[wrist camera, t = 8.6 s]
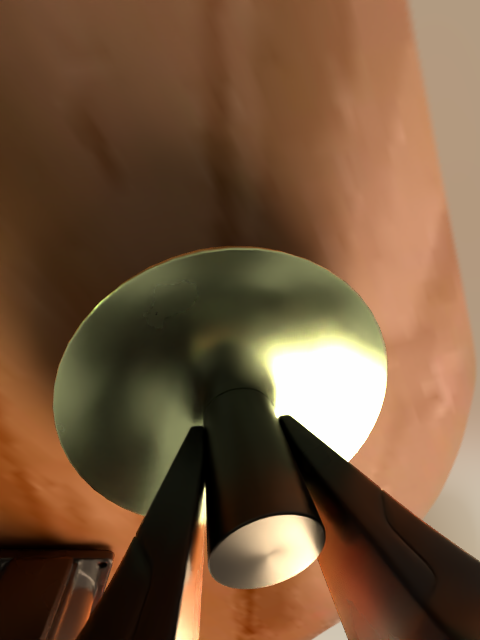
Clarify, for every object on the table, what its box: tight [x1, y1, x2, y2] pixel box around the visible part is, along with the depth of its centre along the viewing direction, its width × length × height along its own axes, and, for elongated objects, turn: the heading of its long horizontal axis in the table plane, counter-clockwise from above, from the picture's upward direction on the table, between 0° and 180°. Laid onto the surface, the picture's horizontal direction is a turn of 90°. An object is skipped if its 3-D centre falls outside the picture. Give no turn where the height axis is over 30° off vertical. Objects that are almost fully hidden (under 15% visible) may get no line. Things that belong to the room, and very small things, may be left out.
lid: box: [53, 246, 388, 589], centre depth 7 cm, size 12×12×5 cm
